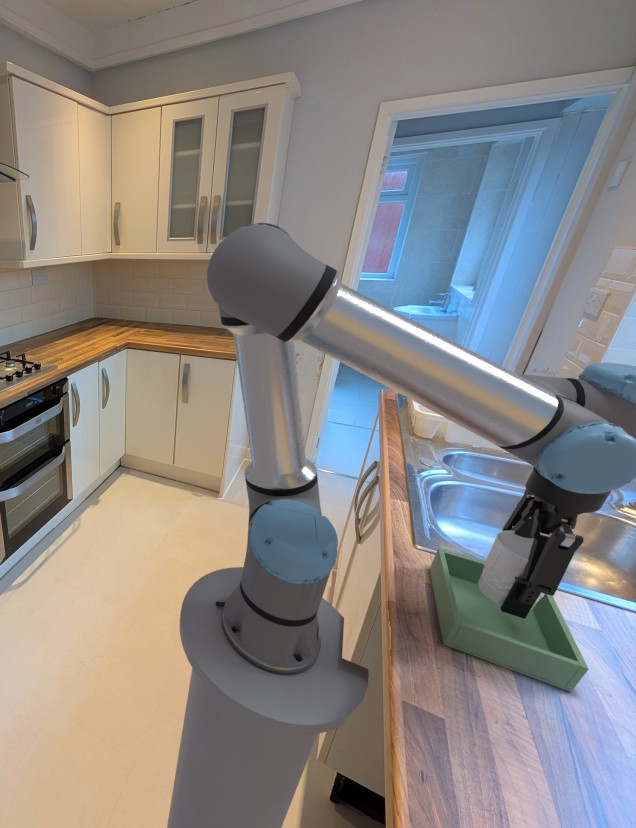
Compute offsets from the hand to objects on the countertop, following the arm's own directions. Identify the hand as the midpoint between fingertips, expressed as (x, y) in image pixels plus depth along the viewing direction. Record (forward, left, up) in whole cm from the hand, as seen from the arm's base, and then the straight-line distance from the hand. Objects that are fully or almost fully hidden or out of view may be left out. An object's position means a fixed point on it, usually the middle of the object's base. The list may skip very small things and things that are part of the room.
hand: (505, 594), depth 68 cm
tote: (0, 0, -6) cm, 6 cm away
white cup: (0, 0, 0) cm, 0 cm away
